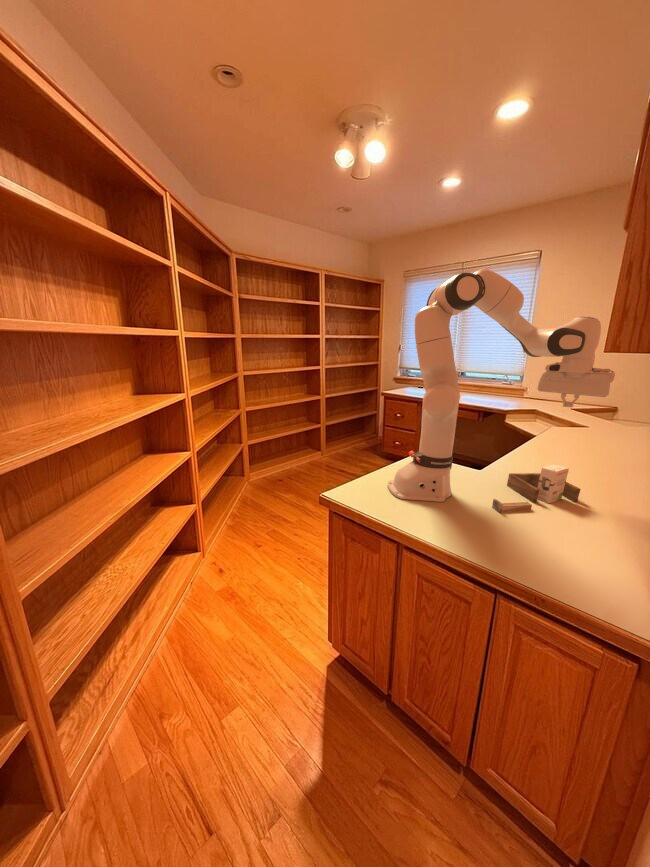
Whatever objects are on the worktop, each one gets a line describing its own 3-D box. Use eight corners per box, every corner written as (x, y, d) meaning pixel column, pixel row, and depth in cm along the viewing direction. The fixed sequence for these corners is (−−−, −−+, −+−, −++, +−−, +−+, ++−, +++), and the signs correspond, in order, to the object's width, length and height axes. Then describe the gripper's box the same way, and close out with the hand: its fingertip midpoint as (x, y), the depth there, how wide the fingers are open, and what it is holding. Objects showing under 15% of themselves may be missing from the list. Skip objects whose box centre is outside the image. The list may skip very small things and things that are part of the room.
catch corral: (533, 502, 111) (536, 489, 110) (506, 485, 125) (509, 473, 123) (577, 502, 113) (580, 488, 111) (546, 485, 126) (549, 473, 125)
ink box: (547, 493, 119) (554, 463, 116) (562, 498, 115) (569, 467, 112) (534, 498, 115) (541, 466, 112) (549, 504, 111) (557, 471, 108)
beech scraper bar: (532, 511, 105) (534, 502, 104) (499, 513, 103) (500, 504, 102) (524, 506, 109) (526, 497, 108) (491, 508, 107) (493, 499, 106)
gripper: (616, 368, 108) (605, 409, 111) (543, 365, 120) (536, 402, 124) (616, 369, 103) (605, 412, 106) (540, 365, 115) (533, 404, 119)
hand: (567, 406), depth 115 cm, fingers closed
